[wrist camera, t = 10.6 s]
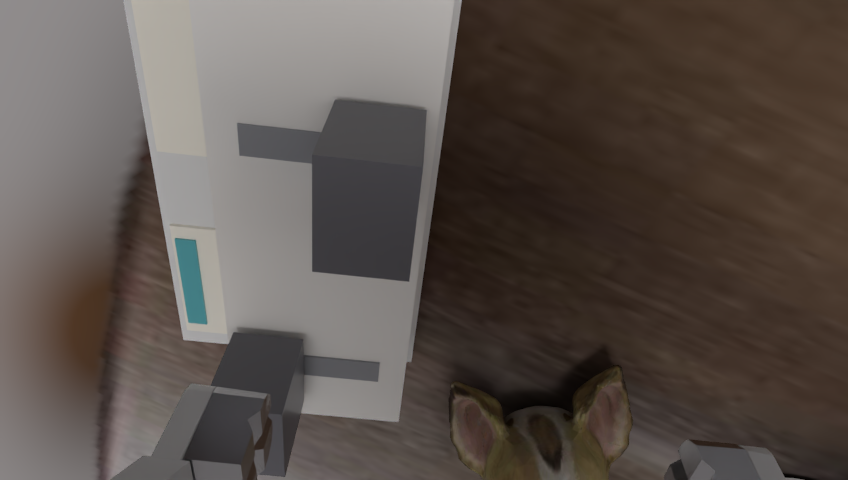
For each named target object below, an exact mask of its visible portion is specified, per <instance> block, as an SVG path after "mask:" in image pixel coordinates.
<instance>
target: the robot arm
mask: <svg viewBox="0 0 848 480" xmlns="http://www.w3.org/2000/svg"><path fill="white" fill-rule="evenodd" d="M270 409H271V396H270V394H266V393H259V392H252V391H245V390H238V389H230V388H223V387H215V386H207V385H199V384H190V385H189V387H188V388H187V389H186V390H185V391H184V393H183V395H182V397H181V399H180V401H179V403H178V405H177V407H176V409H175V410H174V412H173V414H172V416H171V418H170V420H169V422H168V424H167V426H166V428H165V430H164V432H163V434H162V436H161V438H160V440H159V442H158V444H157V446H156V448H155V450H154V452H153V454H152V456H151V457H150V456H142V457H141V458H139V459H138V460H137V461H135V462H134V463H133V464H131V465H130V466H128V467H127V468H126V469H124V470H123V471H121V472H120V473H119V474H117V475H116V476H114V477H113V478H112V479H110V480H257V476H258V475H259V474H260V473H261V472H262V471H264V470H265V467H266V464H267V460H268V457H269V452H270V447H271V442H272V431H273V425H272V420H271V419H270V418H269V417H268V415H269V412H270ZM678 452H679V455H680V458H681V459H680V460H678V461H676V462H674V463H672V464H670V466H669V468H668V470H667V472H666V474H665V476H664V480H803V479H796V478H785V477H784V475H783V473H782V471H781V469H780V467H779V466H778V464H777V462H776V460H775V458H774V456H773V455H772V453H771V452H770V451H769V450H768V449H767V448H761V447H752V446H743V445H736V444H729V443H719V442H709V441H698V440H687V441H685V442H683V443H682V445H681V447H680V448H679V450H678Z"/></svg>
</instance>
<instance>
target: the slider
mask: <svg viewBox="0 0 848 480" xmlns="http://www.w3.org/2000/svg"><path fill="white" fill-rule="evenodd" d="M211 386H215V387H223V388H230V389H238V390H245V391H252V392H259V393H266V394H270V396H271V409H270V412H269V415H268V417H269V418H270V419H271V420H272V425H273V431H272V442H271V447H270V452H269V457H268V460H267V464H266V467H265V470H264V471H262V472H261V473H260V474H259V475H270V476H281V477H285V475H286V471H287V467H288V463H289V459H290V455H291V451H292V447H293V443H294V439H295V435H296V431H297V427H298V423H299V419H300V415H301V411H302V407H303V403H304V347H303V339H297V338H287V337H277V336H267V335H257V334H247V333H237V332H233V335H232V337H231V339H230V342H229V344H228V346H227V349H226V351H225V353H224V356H223V358H222V360H221V363H220V365H219V367H218V370H217V372H216V374H215V377H214V379H213V381H212V384H211Z"/></svg>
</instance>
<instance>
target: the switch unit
mask: <svg viewBox="0 0 848 480" xmlns="http://www.w3.org/2000/svg"><path fill="white" fill-rule="evenodd" d="M123 2H124V7H125V13H126V18H127V24H128V30H129V35H130V41H131V47H132V52H133V57H134V64H135V69H136V75H137V81H138V86H139V92H140V97H141V103H142V109H143V114H144V120H145V126H146V131H147V137H148V143H149V148H150V154H151V159H152V165H153V171H154V176H155V182H156V188H157V193H158V199H159V205H160V210H161V216H162V222H163V227H164V233H165V238H166V244H167V250H168V255H169V261H170V267H171V272H172V278H173V284H174V289H175V295H176V300H177V306H178V312H179V317H180V323H181V329H182V334H183V340H190V341H201V342H211V343H221V344H229V342H230V339H231V337H232V335H233V332H237V333H247V334H257V335H267V336H277V337H287V338H297V339H303V347H304V403H303V407H302V411H301V413H306V414H316V415H327V416H337V417H348V418H359V419H369V420H380V421H390V422H399V415H400V407H401V400H402V392H403V385H404V377H405V369H406V362H411V361H412V354H413V346H414V339H415V332H416V325H417V318H418V311H419V303H420V296H421V289H422V282H423V275H424V268H425V260H426V253H427V246H428V239H429V232H430V225H431V217H432V210H433V203H434V196H435V189H436V181H437V174H438V167H439V160H440V153H441V146H442V138H443V131H444V124H445V117H446V110H447V103H448V95H449V88H450V81H451V74H452V67H453V60H454V52H455V45H456V38H457V31H458V24H459V17H460V9H461V2H462V0H123ZM335 99H336V100H344V101H353V102H362V103H370V104H379V105H388V106H396V107H405V108H414V109H422V110H427V116H426V132H425V147H424V163H423V173H422V181H421V189H420V198H419V206H418V214H417V222H416V230H415V238H414V247H413V255H412V263H411V271H410V279H409V282H407V281H397V280H387V279H378V278H368V277H358V276H349V275H339V274H330V273H320V272H312V153H313V151H314V149H315V146H316V144H317V141H318V139H319V137H320V134H321V132H322V129H323V127H324V125H325V122H326V120H327V118H328V115H329V113H330V110H331V108H332V106H333V103H334V101H335Z"/></svg>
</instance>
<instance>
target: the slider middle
mask: <svg viewBox="0 0 848 480" xmlns="http://www.w3.org/2000/svg"><path fill="white" fill-rule="evenodd" d="M426 116H427V110H422V109H414V108H405V107H396V106H388V105H379V104H370V103H362V102H353V101H344V100H336V99H335V101H334V103H333V106H332V108H331V110H330V113H329V115H328V118H327V120H326V122H325V125H324V127H323V129H322V132H321V134H320V137H319V139H318V141H317V144H316V146H315V149H314V151H313V153H312V272H320V273H330V274H339V275H349V276H358V277H368V278H378V279H387V280H397V281H407V282H409V279H410V271H411V263H412V255H413V247H414V238H415V230H416V222H417V214H418V206H419V198H420V189H421V181H422V173H423V163H424V147H425V132H426Z"/></svg>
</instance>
